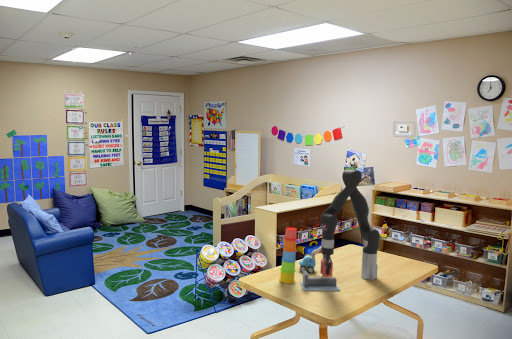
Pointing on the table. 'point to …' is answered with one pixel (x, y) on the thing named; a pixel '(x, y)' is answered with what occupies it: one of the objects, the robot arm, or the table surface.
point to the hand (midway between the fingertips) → (326, 272)
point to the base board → (320, 288)
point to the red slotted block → (323, 269)
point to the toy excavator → (309, 262)
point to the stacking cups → (289, 256)
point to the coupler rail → (318, 280)
